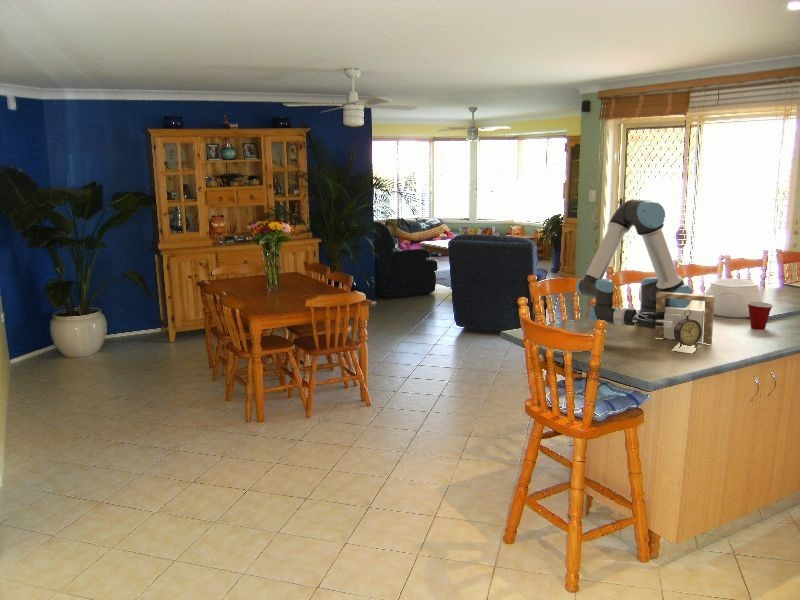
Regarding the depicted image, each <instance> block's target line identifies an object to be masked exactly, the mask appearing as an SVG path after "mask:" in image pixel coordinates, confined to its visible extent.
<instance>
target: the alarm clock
mask: <svg viewBox="0 0 800 600" xmlns="http://www.w3.org/2000/svg"><path fill="white" fill-rule="evenodd" d="M686 309H687V310H689V309H690V308H686ZM687 310H686V311H687ZM686 311H685V312H686ZM685 312H684V315H685ZM690 315H691V310H690ZM690 315H689V316H690ZM689 316H686V317H687V318H686V319H682V320H680V321H679V322H678V323H677V324H676V326H675V328H674V337H675V339H676V340H675V341H676V342H677V343H678V342H679V343H680V347H681V346H682V344H683V345H687V346H692V345H694V344H695V345H696V346H698V345H697V344H698V343H699V342H698V341H699V339H700V337H701V334H702V329H701V326H700V324H699V323H698V322H697V321H695V320H691V319H689V318H688V317H689ZM680 347H679V348H680Z"/></svg>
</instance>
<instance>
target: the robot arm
mask: <svg viewBox="0 0 800 600" xmlns="http://www.w3.org/2000/svg"><path fill="white" fill-rule="evenodd" d="M665 218H666V211H665V208H664V207H663V205H662V204H661V203H659V202H657V201H655V200H649V199H647V200H642V199H630V200H626V201H625V202H623V203H622V204H621V205H619V207H617V209H616V210H615V212H614V213H613V215H612V216H611V218H610V220H609V223H608V225H609V227H608V229H607V231H606V233H605V235H604V236H603V239H602V241H601V243H600V245H599V247H598V249H597V251H596V254H595V255H594V257H593V259H592V261H591V263H590V265H589V267H588V269H587V271H586V273H585V275H584V277H583V278H580V279H578V280H577V282H576V283H575V290H576V292H577V293H578V294H579V295H581V296H584V297H587V298H588V297H589V298H592V299H594V300H595V301H594V302H595V304H593V305H591V307H590V309H589V314H588V315H589V319H590V321H591V322H594V323H597V322H596V321H597V320H599V319H600V320H605V321H606V322H607V323H606V324H611V325H612V324H613V325H619V326H621V325H622V326H629V327H634V326H635V325H638V324H639V325H638V326H640V325H643V326H642V327H644V326H647V327H646V328H652V329H655V326H656V327H664V329H665V328H672V324H673V321H680V317H681V315H675V314H665V312H656V298H657V297H656V293H657V292H659V291H660V292H674V293H687V294H694V293H693V290H692V288H691V286H689V285H687V284H685V282H684V279H683V277H682V276H681V275H679V274H678V273H677V270H676V267H675V265H674V264H675V263H674V261H673V259H672V256H671V253H670V250H669V247H668V243H667V242H666V238H665V236H664V232H663V230H662V229H663V228H664V226H665V225H664V222H665ZM633 227H634V228H635V230H636V232H637V235H638V236H641V237H642V240H643V242H644V245H645V248H646V251H647V254H648V257H649V259H650V262H651V265H652V268H653V270H654V272H655V275H656V276H654V277H652V276H651V277H645V278H642V280H641V285H640V286H641V288H640V289H641V290H640V291H641V292H640V294H641V297H640V309H639V311H638V312H639V313H637V310H636V309H635V308H629V307H628V308H626V307H621V306H618V307H617V306H616V307H615V306H614V289H615V288H614V281H613V280H612V279H609V278H608V279H607V278H604V276H605V274H606V272H607V270H608V268H609V266H610V265H611V262H612V260H613V258H614V256H615V254H616V252H617V250H618V249H619V246H620V245H621V242H622V240H623V238H624V237H625V234H626V233H629V231H630V230H631V228H633ZM691 301H692V300H683V299H670V298H665V308H666V307H674V308H685V309H687V307H688V306H689V305H690V303H691ZM661 315H662V317H661ZM658 319H664V321H663V320H658ZM665 320H670V321H665Z"/></svg>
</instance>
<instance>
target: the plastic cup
mask: <svg viewBox="0 0 800 600" xmlns="http://www.w3.org/2000/svg"><path fill="white" fill-rule="evenodd" d="M747 304H748V308H749V316H750V317H749V322H750V329H752V330H757V331H759V330H765V329H766V327H767V322H768V319H769V316H770V312H771V310H772V308H773V307H774V305H773V304H772V303H769V302H764V301H763V302H754V301H750V302H747Z"/></svg>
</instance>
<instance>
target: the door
mask: <svg viewBox="0 0 800 600" xmlns="http://www.w3.org/2000/svg"><path fill="white" fill-rule="evenodd" d="M687 309H689V310H687ZM686 310H687V311H686ZM690 310H691V315H690ZM685 311H686V312H685ZM684 312H685V315H684ZM704 312H705V309H696V308H695V309H694V308H693V309H692V308H674V307H666V308H665V314H675V315H681V317H680V320H682V319H686V318H687V317H686V316H689V315H690V316H689V317H688V318H689V319H691V320H695V321H697V322H698V323H699V324H700V326H701V329H702V334H701V337H700V339H699V341H698V342H697V343H699V342H700V343H699V344H701V343H703V331H704ZM665 321H670V320H665ZM678 322H679V321H673V324H672V328H665V327H664V338H668V339H667V340H672V339H675V337H674V328H675V326H676V324H677V323H678ZM664 338H663V339H664Z"/></svg>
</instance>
